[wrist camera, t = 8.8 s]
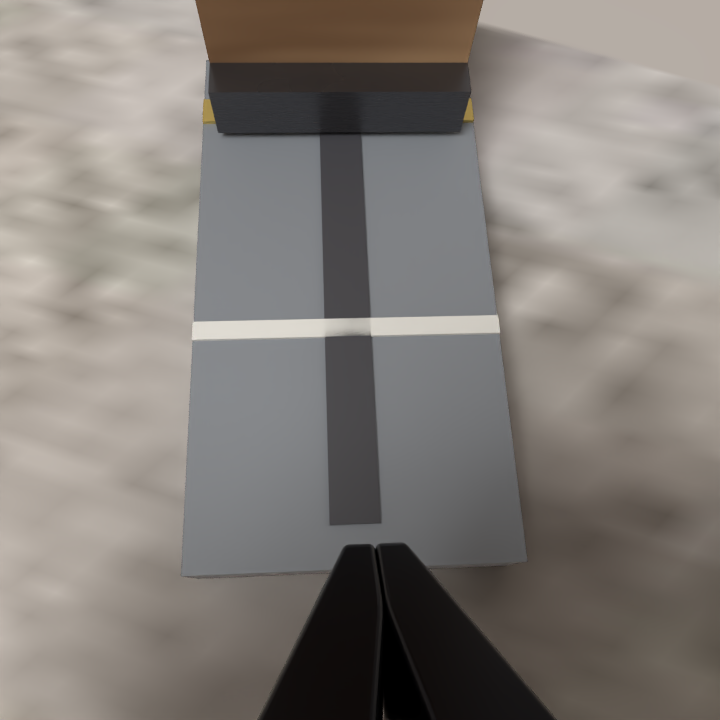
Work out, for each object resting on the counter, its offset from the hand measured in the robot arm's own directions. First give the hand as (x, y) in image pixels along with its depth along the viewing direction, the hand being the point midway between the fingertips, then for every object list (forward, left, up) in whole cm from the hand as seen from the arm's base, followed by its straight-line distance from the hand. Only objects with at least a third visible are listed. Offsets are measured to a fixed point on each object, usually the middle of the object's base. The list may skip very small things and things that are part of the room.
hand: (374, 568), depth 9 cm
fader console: (+5, +6, -9) cm, 12 cm away
